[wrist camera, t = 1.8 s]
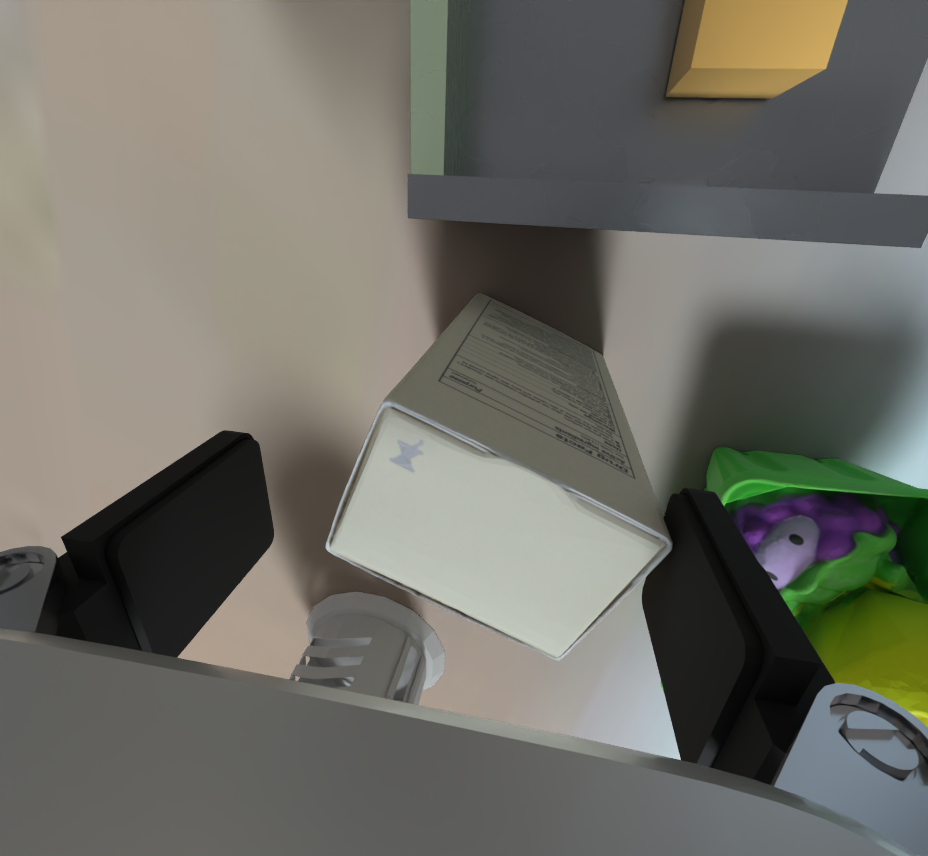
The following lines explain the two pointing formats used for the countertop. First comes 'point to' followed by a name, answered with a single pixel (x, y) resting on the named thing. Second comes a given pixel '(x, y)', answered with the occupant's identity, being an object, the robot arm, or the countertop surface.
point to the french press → (370, 648)
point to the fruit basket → (840, 561)
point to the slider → (751, 46)
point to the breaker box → (654, 125)
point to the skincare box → (505, 484)
